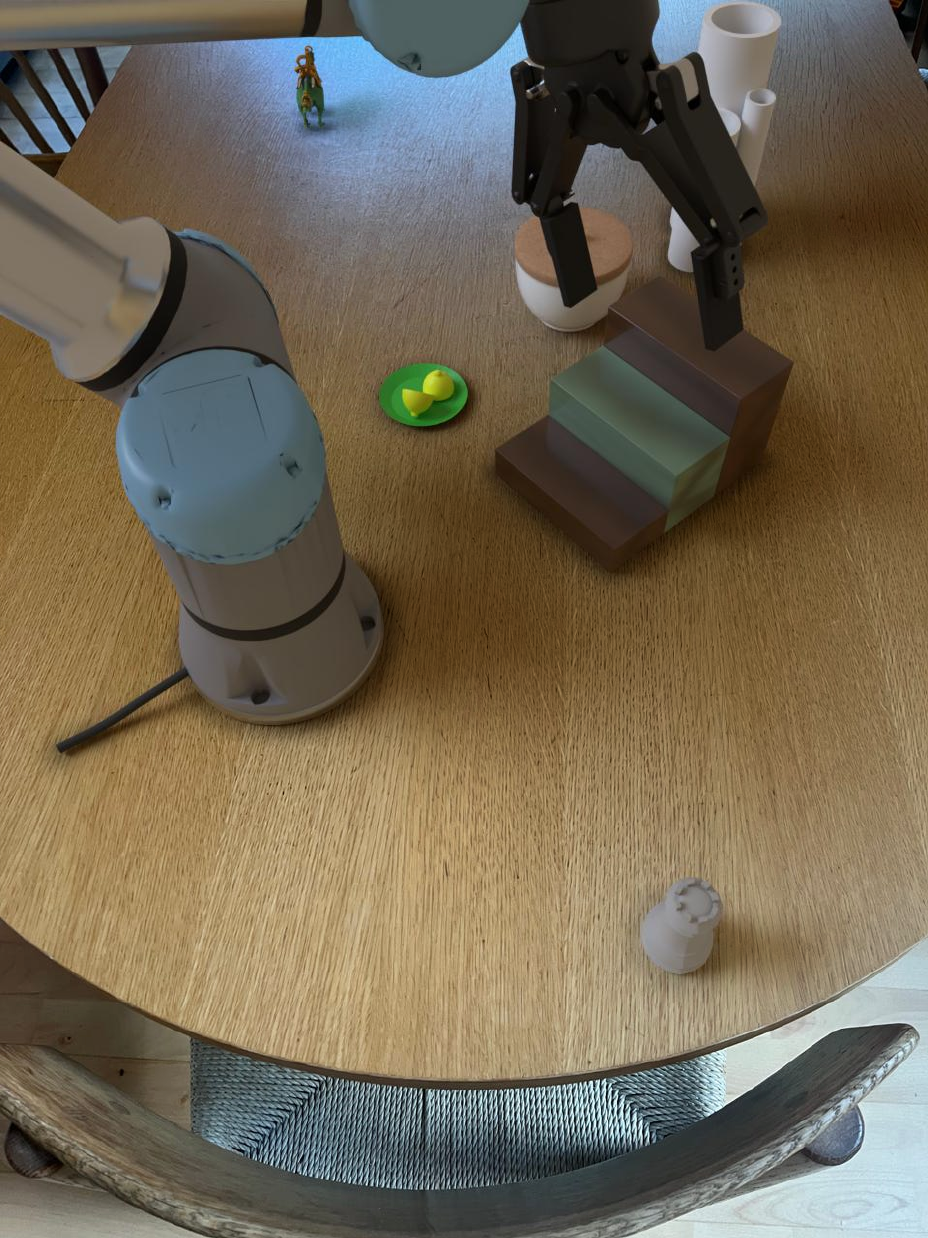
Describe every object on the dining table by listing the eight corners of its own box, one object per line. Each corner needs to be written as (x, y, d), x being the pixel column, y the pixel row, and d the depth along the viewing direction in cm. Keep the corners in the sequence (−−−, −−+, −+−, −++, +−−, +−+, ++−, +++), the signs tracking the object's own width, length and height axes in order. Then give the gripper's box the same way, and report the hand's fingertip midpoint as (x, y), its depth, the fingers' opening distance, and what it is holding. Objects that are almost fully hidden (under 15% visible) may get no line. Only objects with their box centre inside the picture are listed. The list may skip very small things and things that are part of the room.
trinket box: (617, 354, 91) (629, 269, 83) (504, 341, 93) (505, 256, 85) (630, 281, 97) (642, 194, 89) (523, 270, 98) (525, 183, 91)
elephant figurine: (330, 96, 117) (319, 23, 110) (325, 154, 110) (313, 80, 103) (304, 97, 117) (292, 25, 110) (297, 155, 110) (284, 82, 103)
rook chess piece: (715, 976, 61) (742, 940, 54) (642, 976, 61) (660, 940, 54) (706, 904, 63) (731, 861, 56) (636, 904, 63) (653, 861, 56)
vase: (669, 202, 104) (702, -1, 87) (739, 206, 103) (785, 2, 86) (667, 270, 98) (701, 66, 81) (740, 275, 97) (791, 70, 80)
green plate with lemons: (452, 438, 86) (451, 415, 84) (367, 421, 87) (363, 397, 85) (478, 377, 90) (478, 353, 88) (396, 361, 92) (393, 337, 89)
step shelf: (610, 573, 78) (625, 480, 68) (494, 473, 84) (494, 375, 74) (762, 460, 84) (794, 361, 74) (643, 375, 90) (660, 273, 81)
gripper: (819, -83, 45) (839, 327, 59) (491, -52, 62) (567, 259, 76) (706, -15, 43) (755, 394, 57) (399, -3, 60) (495, 308, 74)
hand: (647, 317), depth 67 cm, fingers open, 13 cm apart
